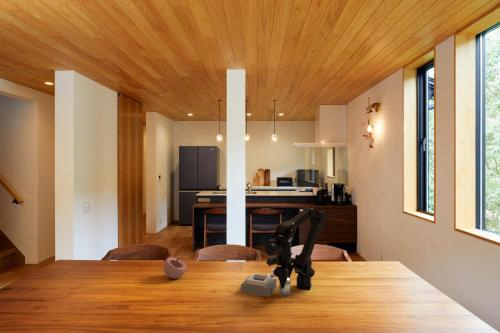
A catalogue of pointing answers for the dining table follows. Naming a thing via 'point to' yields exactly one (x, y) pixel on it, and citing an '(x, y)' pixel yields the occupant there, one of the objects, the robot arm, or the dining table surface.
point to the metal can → (285, 288)
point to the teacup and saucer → (272, 273)
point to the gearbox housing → (259, 285)
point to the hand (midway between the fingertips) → (285, 284)
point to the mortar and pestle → (174, 267)
